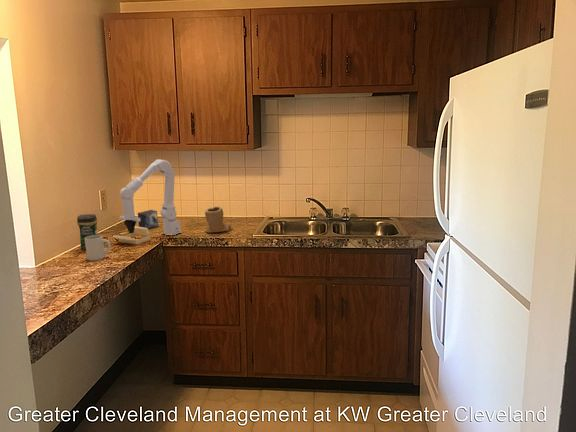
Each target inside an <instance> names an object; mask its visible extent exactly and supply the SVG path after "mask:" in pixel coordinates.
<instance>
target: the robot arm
mask: <svg viewBox="0 0 576 432" xmlns="http://www.w3.org/2000/svg"><path fill="white" fill-rule="evenodd" d="M153 161H154V162H151V163H150V165H149V166H148V167H147V168H146V169H145V170H144V171H143V173H142V172H141V175H140V176H139V177H133V178H132V179H131V180H130V182H129V183H128V184H126V185H125V187H123V188H121V189H120V192H119V193H118V194H119V196H120V197H121V203H122V211H123V215H120V216H119V215H118V216H119V220H120V221H121V220H122V221H123V224H124V225H125V226H126V228H127V229H126V230H128V234H132V233H134V228H135V226H136V225H137V223H139V221H141V220H140V218H139V217H138V216H136V215H135V206H134V200H133V197H134V196H135V193H136V192H137V191H138V190H140V189H141V187H142V186H144V183H143V182H145V181H146V180H148V178H149V177H151V175H153V174H154V173H159V172H160V173H161V174H162V175H164V195H163V197H164V198H163V204H162V206H161V207H162V208H161V210H160V215H161V217H162V224H163V233H165V234H172V235H175V234H178V233H181V231H182V230H181V223H180V220H178V219H176V218H177V211H176V206H175V205H174V201H175V199H174V197H175V179H176V178H175V175H176V173H175V171H174V169H173V166H172V163H170V162H169V161H168V160H167V159H160V158H157V159H155V160H153ZM134 234H135V233H134ZM181 234H182V233H181ZM178 235H179V234H178ZM175 236H176V235H175Z"/></svg>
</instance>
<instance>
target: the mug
mask: <svg viewBox="0 0 576 432" xmlns="http://www.w3.org/2000/svg"><path fill="white" fill-rule="evenodd" d="M105 243H106V244H107V246H108V248H107V249H105ZM85 246H86V249H85V251H86V252H85V253H86V259H87V261H90V262H91V261H99V260H100V261H101V260H103V259H105V258H106V254H107V253H109V252H111V249H112V248H111V247H112V246H111V243H110V240H109V239H106V238H104V237H103V235H101V234H98V235H92V236H88V237H85Z"/></svg>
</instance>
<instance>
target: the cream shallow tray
mask: <svg viewBox="0 0 576 432" xmlns="http://www.w3.org/2000/svg"><path fill="white" fill-rule="evenodd" d="M132 235H135V236H141V237H144V238H141V239H135V240H126V239H119V238H118V240H119V241H118V242H119V243H124V244H130V245H140V244H143V243H146V242H148V241H151V235H145V234H138V233H128V234H127V235H124V237H129V236H132Z"/></svg>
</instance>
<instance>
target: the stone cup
mask: <svg viewBox="0 0 576 432" xmlns="http://www.w3.org/2000/svg"><path fill="white" fill-rule="evenodd" d="M204 216H205V219H206V222H207V225H208V227H206V228H205V232H206V233H210V234H211V233H219V232H230V231H231V228H232V224H225V223H224V211H223V208H222V207H221V206H213V207H209V208H207V209H205V211H204Z"/></svg>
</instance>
